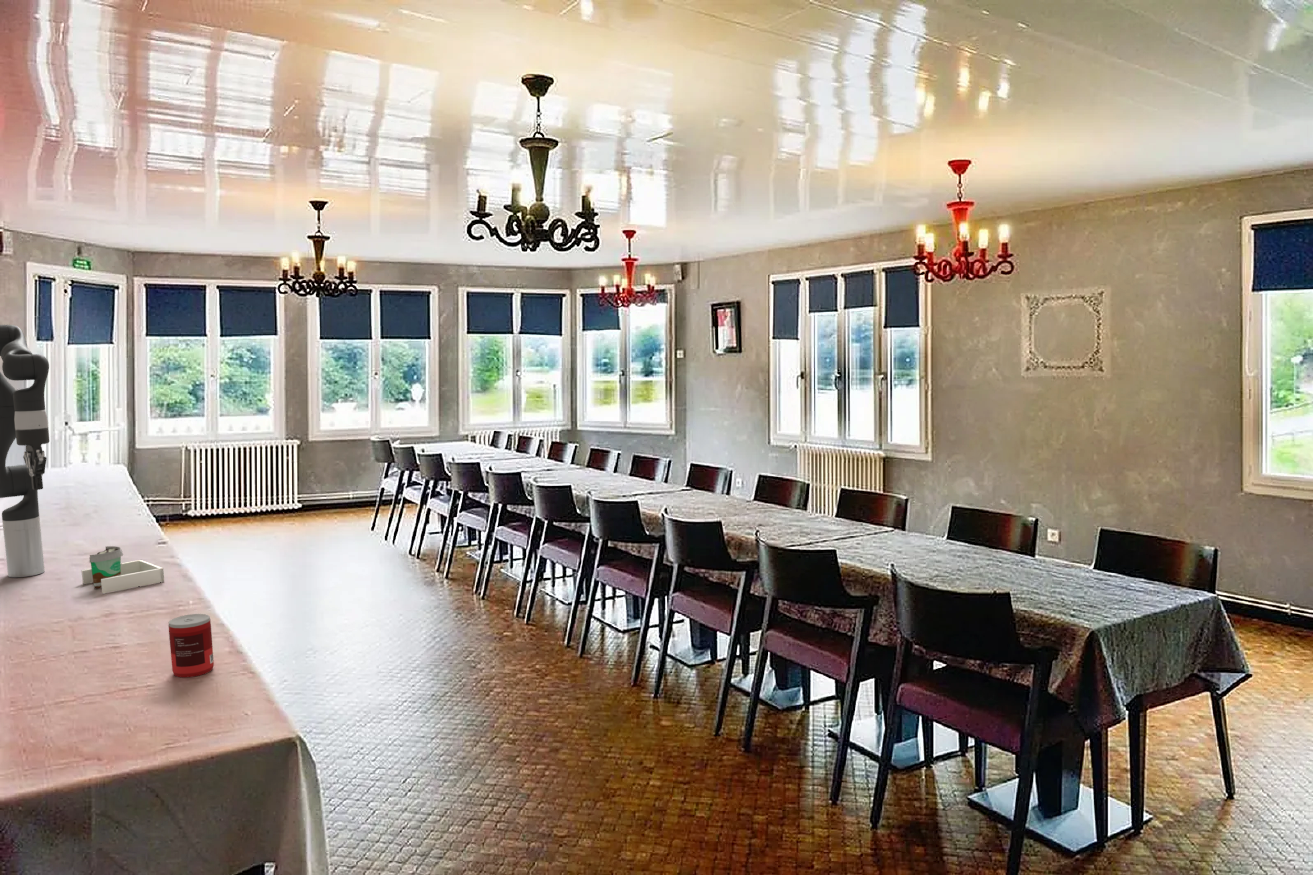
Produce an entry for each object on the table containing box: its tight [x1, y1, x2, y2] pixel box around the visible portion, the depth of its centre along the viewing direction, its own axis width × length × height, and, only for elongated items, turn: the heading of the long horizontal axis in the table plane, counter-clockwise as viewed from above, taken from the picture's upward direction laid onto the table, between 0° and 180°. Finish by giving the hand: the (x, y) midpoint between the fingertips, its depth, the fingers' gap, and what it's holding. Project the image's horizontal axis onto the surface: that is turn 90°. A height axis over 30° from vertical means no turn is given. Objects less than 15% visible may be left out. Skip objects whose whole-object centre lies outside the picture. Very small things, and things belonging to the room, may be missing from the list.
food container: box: [89, 545, 124, 590], centre depth 262 cm, size 12×6×10 cm, turn 11°
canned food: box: [167, 613, 215, 679], centre depth 187 cm, size 8×8×11 cm
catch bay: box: [81, 559, 165, 595], centre depth 263 cm, size 18×16×4 cm
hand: (37, 489), depth 253 cm, fingers closed
